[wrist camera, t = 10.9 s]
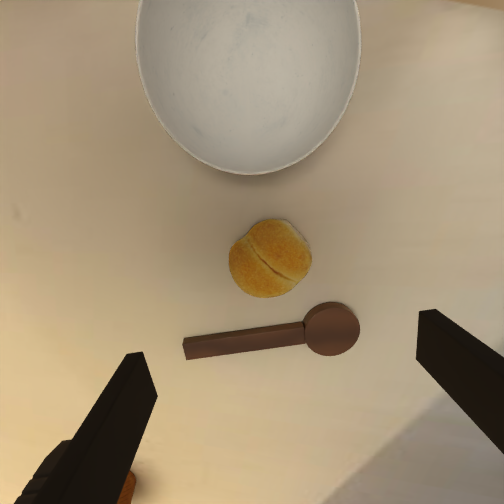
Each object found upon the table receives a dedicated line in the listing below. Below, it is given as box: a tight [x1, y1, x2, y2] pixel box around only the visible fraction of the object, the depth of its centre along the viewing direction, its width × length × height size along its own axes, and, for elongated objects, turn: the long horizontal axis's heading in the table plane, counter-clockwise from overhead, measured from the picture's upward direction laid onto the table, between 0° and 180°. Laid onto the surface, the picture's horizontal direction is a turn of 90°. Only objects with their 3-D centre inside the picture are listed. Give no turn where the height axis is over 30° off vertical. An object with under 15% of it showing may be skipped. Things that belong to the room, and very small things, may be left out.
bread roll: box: [229, 219, 312, 298], centre depth 27 cm, size 8×9×4 cm
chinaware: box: [135, 0, 361, 175], centre depth 20 cm, size 15×15×8 cm
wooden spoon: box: [182, 302, 360, 360], centre depth 31 cm, size 7×22×1 cm, turn 98°
